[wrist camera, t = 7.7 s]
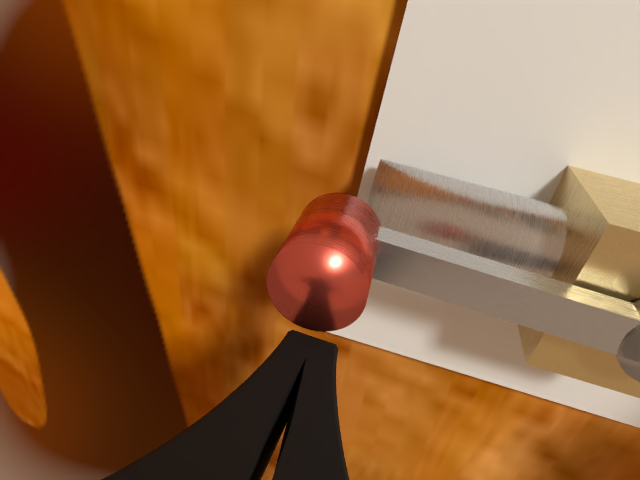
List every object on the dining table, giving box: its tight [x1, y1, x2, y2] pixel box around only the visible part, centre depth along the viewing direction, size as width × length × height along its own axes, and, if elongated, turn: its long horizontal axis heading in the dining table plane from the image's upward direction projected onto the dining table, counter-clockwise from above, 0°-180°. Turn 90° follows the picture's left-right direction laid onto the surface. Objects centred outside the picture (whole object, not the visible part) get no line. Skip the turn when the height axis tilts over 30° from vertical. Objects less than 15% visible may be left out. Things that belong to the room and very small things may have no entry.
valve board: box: [326, 0, 640, 428], centre depth 17 cm, size 18×15×1 cm
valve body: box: [367, 159, 640, 398], centre depth 15 cm, size 17×5×4 cm, turn 79°
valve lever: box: [266, 193, 640, 382], centre depth 12 cm, size 11×2×3 cm, turn 77°
